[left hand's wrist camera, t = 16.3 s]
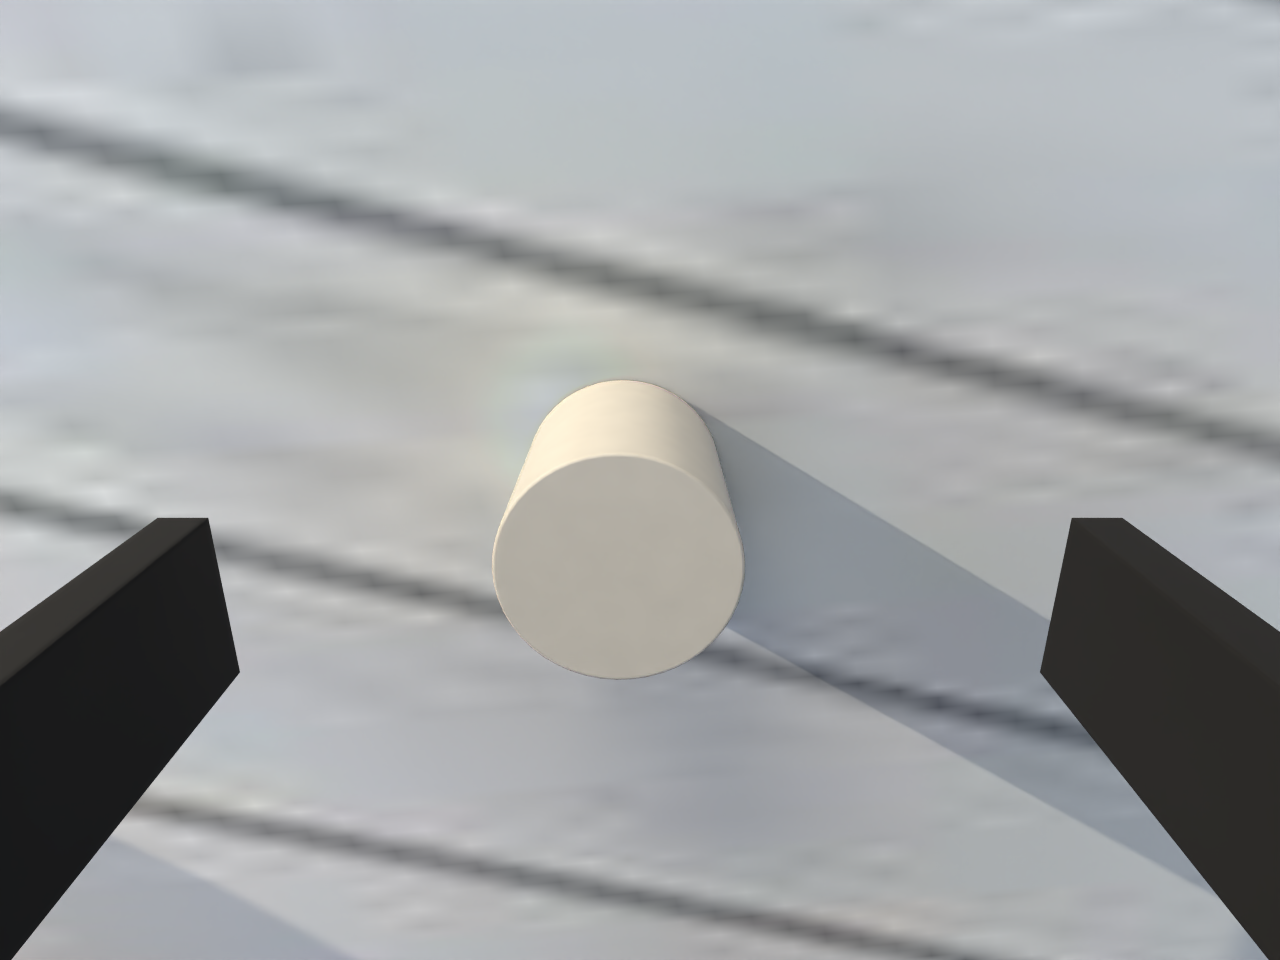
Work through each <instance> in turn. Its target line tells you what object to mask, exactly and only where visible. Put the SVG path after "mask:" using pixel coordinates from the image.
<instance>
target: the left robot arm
mask: <svg viewBox="0 0 1280 960" xmlns="http://www.w3.org/2000/svg"><path fill="white" fill-rule="evenodd" d="M239 673H240V670H239V665H238V661H237V656H236V651H235V646H234V641H233V636H232V631H231V627H230V622H229V617H228V612H227V607H226V602H225V597H224V593H223V588H222V583H221V578H220V573H219V568H218V563H217V559H216V554H215V549H214V544H213V539H212V534H211V529H210V525H209V520H208V518H157V519H156V520H154V521H153V522H151V523H150V524H149V525H147V526H146V527H145V528H143V529H142V530H140V531H139V532H138V533H136V534H135V535H134V536H132V537H131V538H129V539H128V540H127V541H125V542H124V543H122V544H121V545H120V546H118V547H117V548H116V549H114V550H113V551H111V552H110V553H109V554H107V555H106V556H104V557H103V558H102V559H100V560H99V561H98V562H96V563H95V564H93V565H92V566H91V567H89V568H88V569H86V570H85V571H84V572H82V573H81V574H80V575H78V576H77V577H75V578H74V579H73V580H71V581H70V582H69V583H67V584H66V585H64V586H63V587H62V588H60V589H59V590H57V591H56V592H55V593H53V594H52V595H51V596H49V597H48V598H46V599H45V600H44V601H42V602H41V603H39V604H38V605H37V606H35V607H34V608H33V609H31V610H30V611H28V612H27V613H26V614H24V615H23V616H22V617H20V618H19V619H17V620H16V621H15V622H13V623H12V624H10V625H9V626H8V627H6V628H5V629H4V630H2V631H1V632H0V960H11V959H12V958H13V957H14V956H15V954H16V953H17V952H18V951H19V949H20V948H21V947H22V946H23V944H24V943H25V942H26V941H27V939H28V938H29V937H30V936H31V934H32V933H33V932H34V931H35V929H36V928H37V927H38V925H39V924H40V923H41V922H42V920H43V919H44V918H45V917H46V915H47V914H48V913H49V912H50V910H51V909H52V908H53V907H54V905H55V904H56V903H57V902H58V900H59V899H60V898H61V897H62V895H63V894H64V893H65V892H66V890H67V889H68V888H69V886H70V885H71V884H72V883H73V881H74V880H75V879H76V878H77V876H78V875H79V874H80V873H81V871H82V870H83V869H84V868H85V866H86V865H87V864H88V863H89V861H90V860H91V859H92V858H93V856H94V855H95V854H96V853H97V851H98V850H99V849H100V848H101V846H102V845H103V844H104V842H105V841H106V840H107V839H108V837H109V836H110V835H111V834H112V832H113V831H114V830H115V829H116V827H117V826H118V825H119V824H120V822H121V821H122V820H123V819H124V817H125V816H126V815H127V814H128V812H129V811H130V810H131V809H132V807H133V806H134V805H135V804H136V802H137V801H138V800H139V798H140V797H141V796H142V795H143V793H144V792H145V791H146V790H147V788H148V787H149V786H150V785H151V783H152V782H153V781H154V780H155V778H156V777H157V776H158V775H159V773H160V772H161V771H162V770H163V768H164V767H165V766H166V765H167V763H168V762H169V761H170V759H171V758H172V757H173V756H174V754H175V753H176V752H177V751H178V749H179V748H180V747H181V746H182V744H183V743H184V742H185V741H186V739H187V738H188V737H189V736H190V734H191V733H192V732H193V731H194V729H195V728H196V727H197V726H198V724H199V723H200V722H201V721H202V719H203V718H204V717H205V715H206V714H207V713H208V712H209V710H210V709H211V708H212V707H213V705H214V704H215V703H216V702H217V700H218V699H219V698H220V697H221V695H222V694H223V693H224V692H225V690H226V689H227V688H228V687H229V685H230V684H231V683H232V682H233V680H234V679H235V678H236V677H237V675H238V674H239ZM1040 673H1041V674H1042V675H1043V677H1044V678H1045V679H1046V680H1047V682H1048V683H1049V684H1050V685H1051V687H1052V688H1053V689H1054V690H1055V692H1056V693H1057V694H1058V695H1059V697H1060V698H1061V699H1062V700H1063V702H1064V703H1065V704H1066V705H1067V707H1068V708H1069V709H1070V710H1071V712H1072V713H1073V714H1074V715H1075V717H1076V718H1077V719H1078V721H1079V722H1080V723H1081V724H1082V726H1083V727H1084V728H1085V729H1086V731H1087V732H1088V733H1089V734H1090V736H1091V737H1092V738H1093V739H1094V741H1095V742H1096V743H1097V744H1098V746H1099V747H1100V748H1101V749H1102V751H1103V752H1104V753H1105V754H1106V756H1107V757H1108V758H1109V759H1110V761H1111V762H1112V763H1113V765H1114V766H1115V767H1116V768H1117V770H1118V771H1119V772H1120V773H1121V775H1122V776H1123V777H1124V778H1125V780H1126V781H1127V782H1128V783H1129V785H1130V786H1131V787H1132V788H1133V790H1134V791H1135V792H1136V793H1137V795H1138V796H1139V797H1140V798H1141V800H1142V801H1143V802H1144V804H1145V805H1146V806H1147V807H1148V809H1149V810H1150V811H1151V812H1152V814H1153V815H1154V816H1155V817H1156V819H1157V820H1158V821H1159V822H1160V824H1161V825H1162V826H1163V827H1164V829H1165V830H1166V831H1167V832H1168V834H1169V835H1170V836H1171V837H1172V839H1173V840H1174V841H1175V842H1176V844H1177V845H1178V846H1179V848H1180V849H1181V850H1182V851H1183V853H1184V854H1185V855H1186V856H1187V858H1188V859H1189V860H1190V861H1191V863H1192V864H1193V865H1194V866H1195V868H1196V869H1197V870H1198V871H1199V873H1200V874H1201V875H1202V876H1203V878H1204V879H1205V880H1206V881H1207V883H1208V884H1209V885H1210V886H1211V888H1212V889H1213V890H1214V892H1215V893H1216V894H1217V895H1218V897H1219V898H1220V899H1221V900H1222V902H1223V903H1224V904H1225V905H1226V907H1227V908H1228V909H1229V910H1230V912H1231V913H1232V914H1233V915H1234V917H1235V918H1236V919H1237V920H1238V922H1239V923H1240V924H1241V925H1242V927H1243V928H1244V929H1245V931H1246V932H1247V933H1248V934H1249V936H1250V937H1251V938H1252V939H1253V941H1254V942H1255V943H1256V944H1257V946H1258V947H1259V948H1260V949H1261V951H1262V952H1263V953H1264V954H1265V956H1266V957H1267V958H1268V959H1269V960H1280V632H1279V631H1278V630H1276V629H1275V628H1274V627H1272V626H1271V625H1270V624H1268V623H1267V622H1265V621H1264V620H1263V619H1261V618H1260V617H1258V616H1257V615H1256V614H1254V613H1253V612H1252V611H1250V610H1249V609H1247V608H1246V607H1245V606H1243V605H1242V604H1241V603H1239V602H1238V601H1236V600H1235V599H1234V598H1232V597H1231V596H1229V595H1228V594H1227V593H1225V592H1224V591H1223V590H1221V589H1220V588H1218V587H1217V586H1216V585H1214V584H1213V583H1211V582H1210V581H1209V580H1207V579H1206V578H1205V577H1203V576H1202V575H1200V574H1199V573H1198V572H1196V571H1195V570H1193V569H1192V568H1191V567H1189V566H1188V565H1187V564H1185V563H1184V562H1182V561H1181V560H1180V559H1178V558H1177V557H1176V556H1174V555H1173V554H1171V553H1170V552H1169V551H1167V550H1166V549H1164V548H1163V547H1162V546H1160V545H1159V544H1158V543H1156V542H1155V541H1153V540H1152V539H1151V538H1149V537H1148V536H1146V535H1145V534H1144V533H1142V532H1141V531H1140V530H1138V529H1137V528H1135V527H1134V526H1133V525H1131V524H1130V523H1129V522H1127V521H1126V520H1124V519H1123V518H1072V520H1071V525H1070V529H1069V534H1068V539H1067V544H1066V549H1065V554H1064V559H1063V563H1062V568H1061V573H1060V578H1059V583H1058V588H1057V593H1056V597H1055V602H1054V607H1053V612H1052V617H1051V622H1050V627H1049V631H1048V636H1047V641H1046V646H1045V651H1044V656H1043V661H1042V665H1041V670H1040Z"/></svg>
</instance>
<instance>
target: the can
mask: <svg viewBox="0 0 1280 960" xmlns="http://www.w3.org/2000/svg"><path fill="white" fill-rule="evenodd" d="M492 573H493V581H494V586H495V590H496V594H497V598H498V600H499V602H500V605H501V607H502V610H503V612H504V613H505V615H506V617H507V619H508V620H509V622H510V624H511V625H512V627H513V628H514V629H515V630H516V632H517V633H518V634H519V635H520V637H521V638H522V639H523V640H524V641H525V642H526V643H527V644H528V645H529V646H530V647H531V648H533V649H534V650H535V651H537V652H538V653H539V654H541V655H542V656H543V657H545V658H546V659H548V660H550V661H552V662H553V663H555V664H557V665H559V666H561V667H563V668H566V669H568V670H570V671H573V672H576V673H580V674H583V675H586V676H591V677H597V678H603V679H616V680H618V679H636V678H643V677H649V676H652V675H656V674H660V673H663V672H666V671H668V670H671V669H674V668H676V667H678V666H680V665H682V664H684V663H686V662H687V661H689V660H691V659H692V658H694V657H695V656H697V655H698V654H700V653H701V652H702V651H704V650H705V649H706V648H707V647H708V646H709V645H710V644H711V643H712V642H714V640H715V639H716V638H717V637H718V636H719V635H720V633H721V632H722V631H723V630H724V628H725V627H726V625H727V624H728V622H729V621H730V619H731V618H732V616H733V614H734V611H735V609H736V607H737V605H738V603H739V599H740V596H741V593H742V590H743V583H744V577H745V557H744V549H743V544H742V540H741V536H740V533H739V529H738V526H737V522H736V518H735V515H734V511H733V508H732V504H731V500H730V497H729V493H728V490H727V486H726V483H725V479H724V475H723V472H722V468H721V465H720V461H719V457H718V454H717V450H716V447H715V443H714V440H713V438H712V436H711V434H710V431H709V429H708V428H707V426H706V425H705V423H704V421H703V420H702V419H701V417H700V416H699V415H698V414H697V413H696V411H695V410H694V409H693V408H692V407H690V406H689V405H688V404H687V403H686V402H685V401H684V400H682V399H681V398H679V397H678V396H676V395H675V394H673V393H671V392H669V391H667V390H665V389H663V388H661V387H658V386H655V385H652V384H648V383H644V382H639V381H629V380H617V381H608V382H602V383H598V384H594V385H591V386H588V387H586V388H583V389H581V390H579V391H577V392H575V393H573V394H572V395H570V396H569V397H567V398H565V399H564V400H563V401H562V402H561V403H559V404H558V405H557V406H556V407H555V408H554V409H553V410H552V411H551V412H550V413H549V414H548V415H547V417H546V418H545V420H544V421H543V423H542V424H541V425H540V427H539V429H538V431H537V433H536V435H535V438H534V440H533V443H532V445H531V448H530V450H529V453H528V455H527V458H526V460H525V463H524V465H523V468H522V470H521V473H520V475H519V478H518V480H517V483H516V486H515V488H514V491H513V493H512V496H511V498H510V501H509V503H508V506H507V508H506V511H505V513H504V516H503V518H502V521H501V523H500V526H499V529H498V532H497V535H496V538H495V543H494V548H493V555H492Z"/></svg>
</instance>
